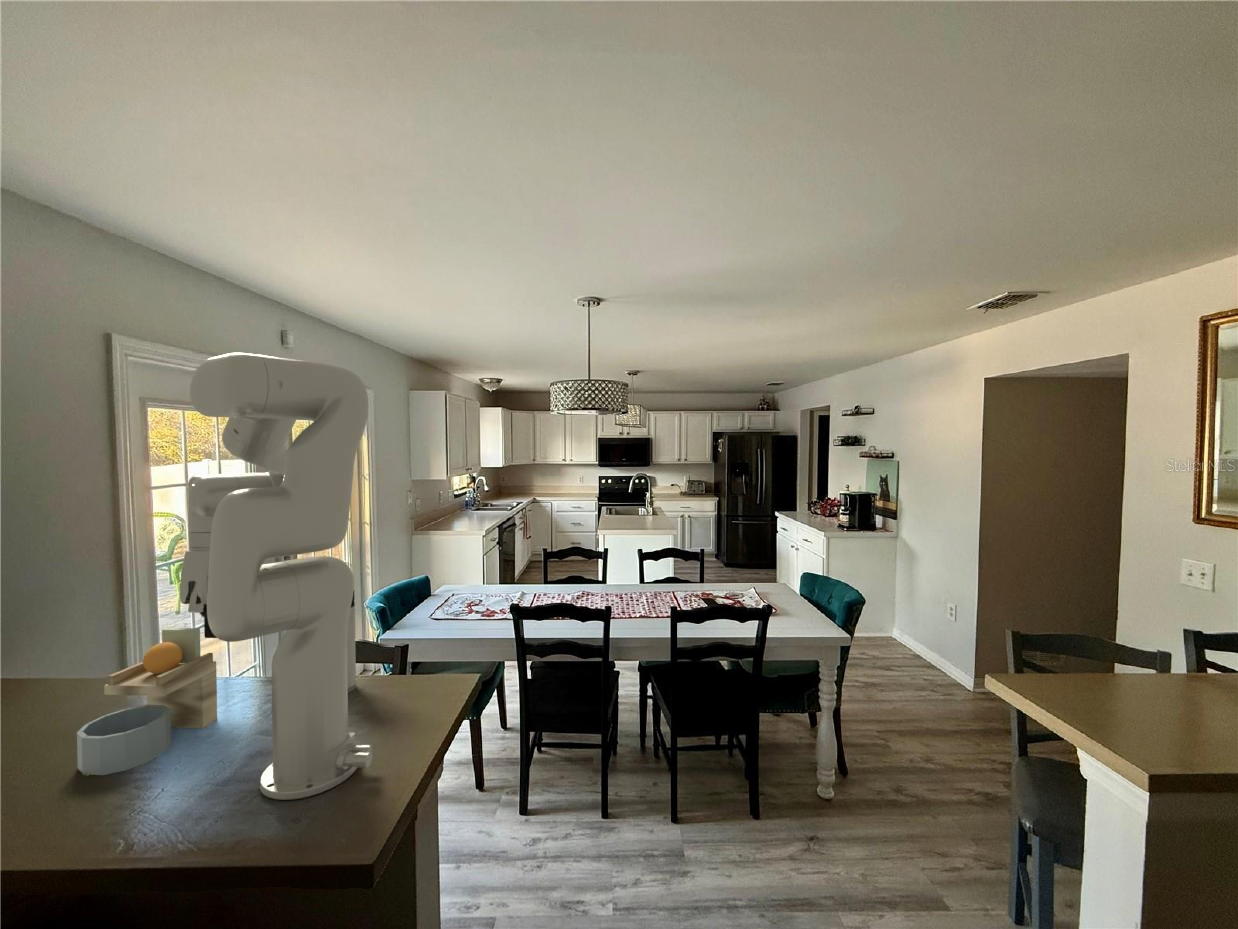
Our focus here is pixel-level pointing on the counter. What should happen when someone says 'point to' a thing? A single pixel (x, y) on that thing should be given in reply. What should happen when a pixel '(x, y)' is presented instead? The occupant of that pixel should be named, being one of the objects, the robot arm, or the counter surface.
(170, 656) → the ball
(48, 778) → the counter surface
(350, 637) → the travel mug
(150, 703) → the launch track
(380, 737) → the counter surface
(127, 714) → the gray oval basket
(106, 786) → the counter surface
